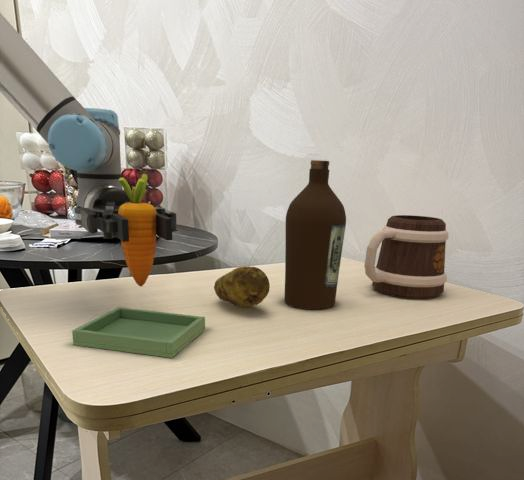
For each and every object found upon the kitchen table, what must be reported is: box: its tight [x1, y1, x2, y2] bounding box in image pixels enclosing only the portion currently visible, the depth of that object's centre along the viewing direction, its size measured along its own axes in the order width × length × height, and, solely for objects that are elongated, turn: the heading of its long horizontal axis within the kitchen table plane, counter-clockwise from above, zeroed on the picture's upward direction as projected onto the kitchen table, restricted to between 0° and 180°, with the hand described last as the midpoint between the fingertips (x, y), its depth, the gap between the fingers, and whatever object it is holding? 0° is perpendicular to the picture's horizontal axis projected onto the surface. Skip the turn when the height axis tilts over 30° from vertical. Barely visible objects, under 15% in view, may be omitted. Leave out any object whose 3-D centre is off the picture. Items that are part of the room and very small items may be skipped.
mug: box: [364, 214, 449, 300], centre depth 105 cm, size 20×15×15 cm
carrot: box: [118, 173, 157, 288], centre depth 70 cm, size 5×5×15 cm
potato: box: [213, 265, 271, 308], centre depth 90 cm, size 8×13×8 cm, turn 14°
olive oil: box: [284, 159, 347, 311], centre depth 92 cm, size 11×11×25 cm
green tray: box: [71, 306, 206, 359], centre depth 75 cm, size 15×13×2 cm
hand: (147, 230), depth 66 cm, fingers closed on carrot, 5 cm apart
